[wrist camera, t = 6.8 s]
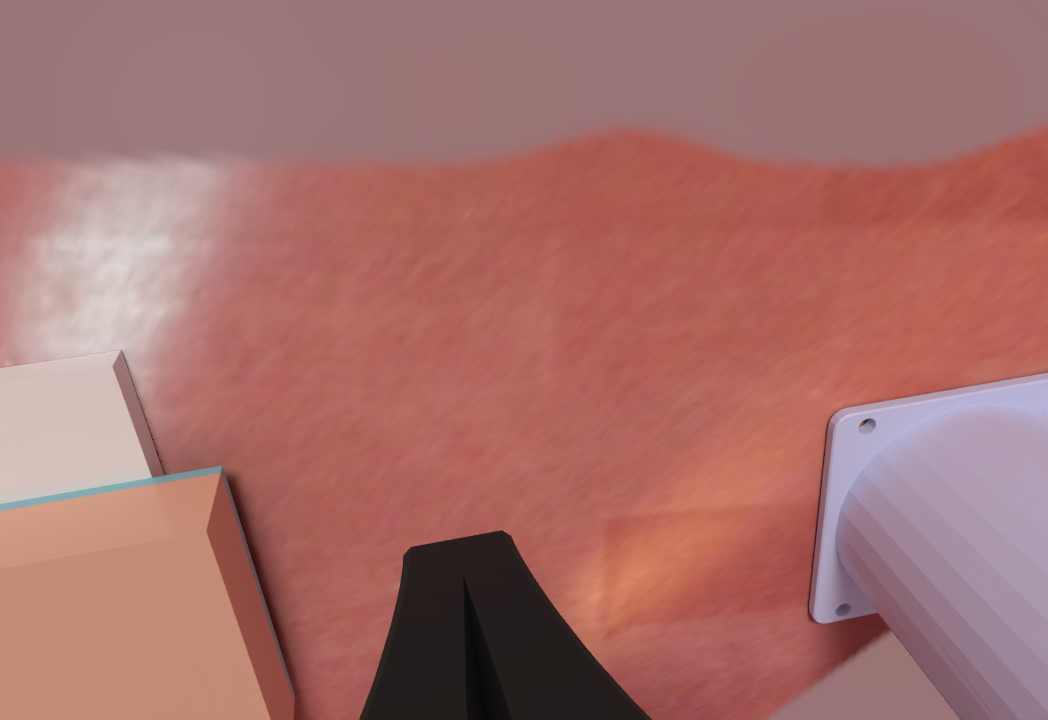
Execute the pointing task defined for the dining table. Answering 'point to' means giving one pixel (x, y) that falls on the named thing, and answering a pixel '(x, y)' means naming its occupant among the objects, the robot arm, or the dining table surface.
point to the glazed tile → (135, 607)
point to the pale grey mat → (71, 427)
